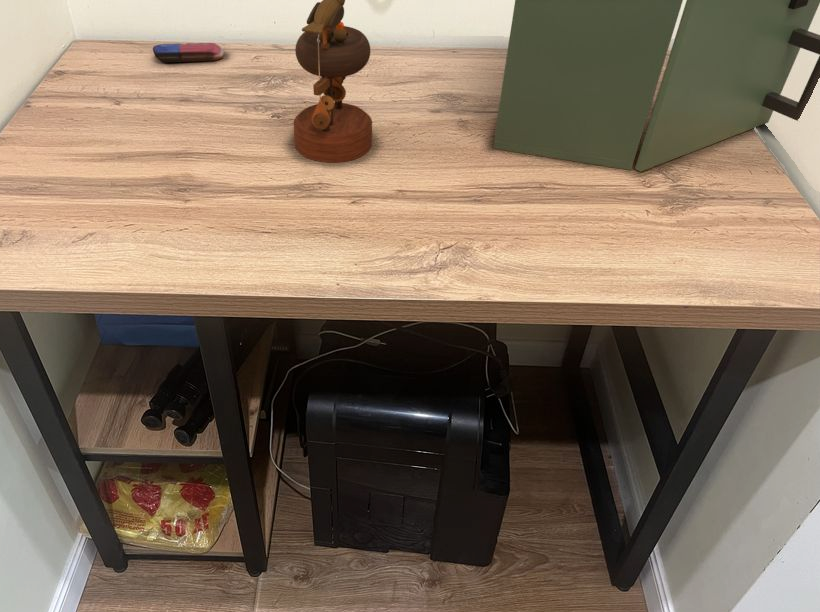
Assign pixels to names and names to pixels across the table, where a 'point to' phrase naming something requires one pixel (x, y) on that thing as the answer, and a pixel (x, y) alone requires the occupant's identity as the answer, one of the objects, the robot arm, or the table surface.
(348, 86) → the table surface
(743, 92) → the door
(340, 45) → the music box
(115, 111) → the table surface
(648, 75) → the cupboard
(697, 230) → the table surface
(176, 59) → the eraser
